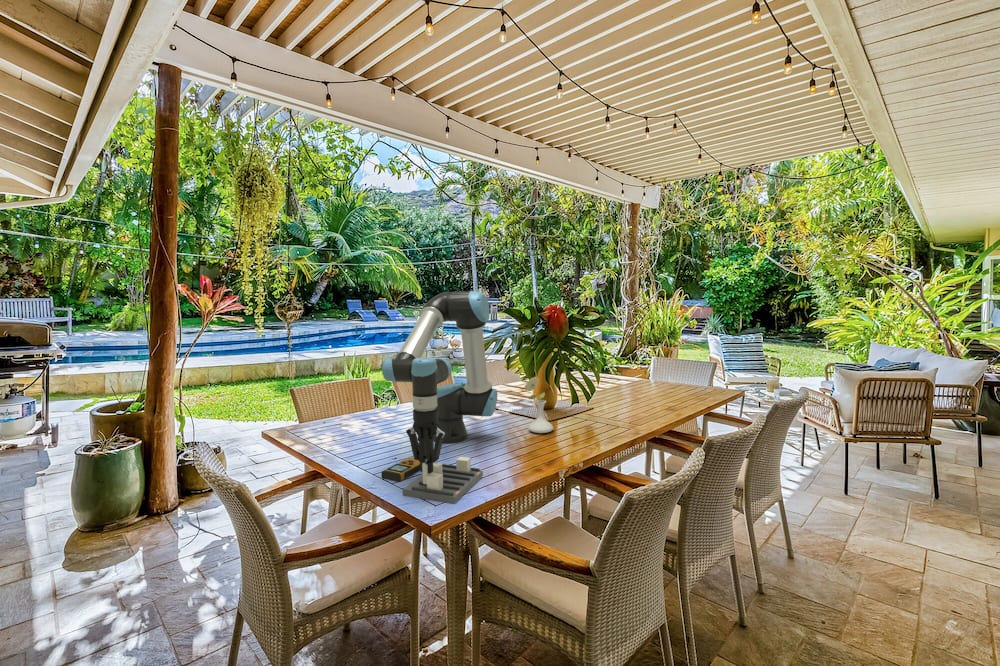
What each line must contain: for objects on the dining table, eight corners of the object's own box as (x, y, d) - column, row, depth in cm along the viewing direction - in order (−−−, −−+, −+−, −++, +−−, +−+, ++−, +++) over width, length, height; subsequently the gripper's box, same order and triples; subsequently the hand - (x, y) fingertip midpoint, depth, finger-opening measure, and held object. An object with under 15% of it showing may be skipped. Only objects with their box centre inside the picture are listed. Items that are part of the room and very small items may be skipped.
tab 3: (460, 469, 165) (460, 456, 165) (470, 470, 164) (470, 458, 163) (456, 472, 162) (456, 459, 162) (467, 474, 161) (467, 461, 161)
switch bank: (436, 470, 170) (435, 462, 170) (482, 476, 164) (482, 468, 164) (402, 495, 150) (402, 486, 150) (454, 503, 144) (454, 494, 143)
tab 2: (431, 486, 151) (431, 472, 151) (443, 488, 150) (442, 474, 149) (427, 490, 148) (426, 476, 148) (438, 492, 147) (438, 477, 146)
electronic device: (427, 468, 174) (427, 459, 174) (400, 483, 160) (399, 473, 160) (409, 464, 178) (409, 455, 178) (380, 479, 164) (380, 469, 164)
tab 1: (431, 475, 160) (431, 462, 160) (442, 477, 159) (442, 463, 158) (427, 478, 157) (427, 465, 157) (438, 480, 156) (437, 467, 155)
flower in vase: (547, 426, 222) (547, 373, 220) (557, 433, 212) (557, 377, 209) (520, 429, 218) (520, 375, 216) (530, 436, 207) (529, 379, 205)
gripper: (400, 409, 146) (402, 484, 149) (438, 412, 142) (440, 490, 144) (413, 403, 153) (415, 475, 156) (449, 407, 149) (451, 480, 151)
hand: (427, 482), depth 150 cm, fingers closed
